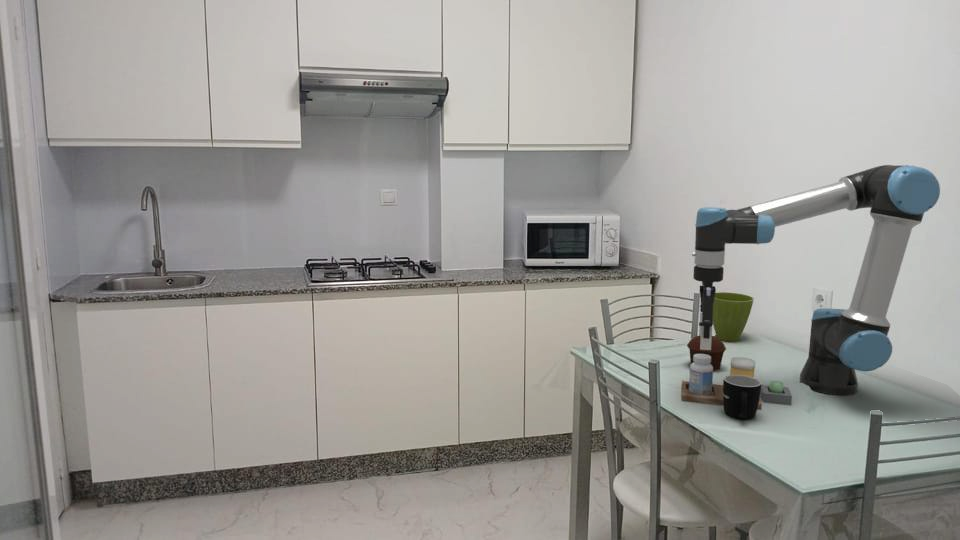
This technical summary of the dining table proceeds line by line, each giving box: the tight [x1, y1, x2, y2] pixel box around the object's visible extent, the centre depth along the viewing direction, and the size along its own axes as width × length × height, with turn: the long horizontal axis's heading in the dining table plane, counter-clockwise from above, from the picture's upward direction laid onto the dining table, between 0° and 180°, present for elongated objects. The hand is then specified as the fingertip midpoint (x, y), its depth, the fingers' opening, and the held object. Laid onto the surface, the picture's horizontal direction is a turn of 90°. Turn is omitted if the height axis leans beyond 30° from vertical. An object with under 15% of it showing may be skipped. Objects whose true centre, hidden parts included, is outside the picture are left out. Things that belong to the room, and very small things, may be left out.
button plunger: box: [769, 380, 785, 393], centre depth 178 cm, size 3×3×4 cm
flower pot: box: [712, 291, 754, 343], centre depth 238 cm, size 15×15×16 cm
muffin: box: [686, 335, 727, 372], centre depth 207 cm, size 12×11×10 cm
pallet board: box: [680, 380, 763, 411], centre depth 179 cm, size 20×12×2 cm, turn 73°
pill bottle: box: [688, 354, 714, 396], centre depth 180 cm, size 6×6×11 cm
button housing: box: [760, 384, 793, 406], centre depth 178 cm, size 7×7×4 cm
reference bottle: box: [729, 356, 756, 378], centre depth 177 cm, size 6×6×11 cm
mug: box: [722, 374, 762, 421], centre depth 166 cm, size 12×9×10 cm
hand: (704, 342), depth 178 cm, fingers open, 13 cm apart
